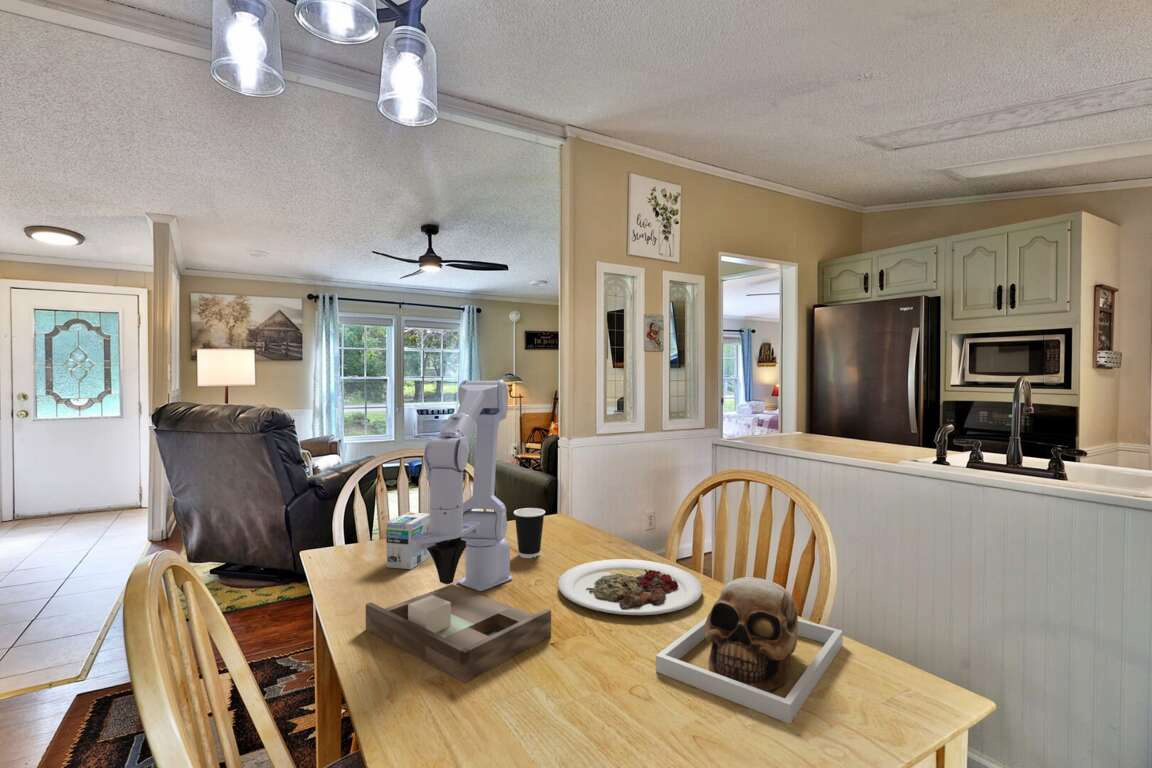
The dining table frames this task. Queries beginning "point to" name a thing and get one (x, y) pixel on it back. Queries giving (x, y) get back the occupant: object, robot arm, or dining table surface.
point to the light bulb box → (406, 540)
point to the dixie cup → (529, 531)
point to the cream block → (430, 613)
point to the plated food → (630, 587)
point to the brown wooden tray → (462, 632)
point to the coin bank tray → (744, 693)
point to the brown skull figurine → (752, 633)
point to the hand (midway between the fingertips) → (446, 582)
